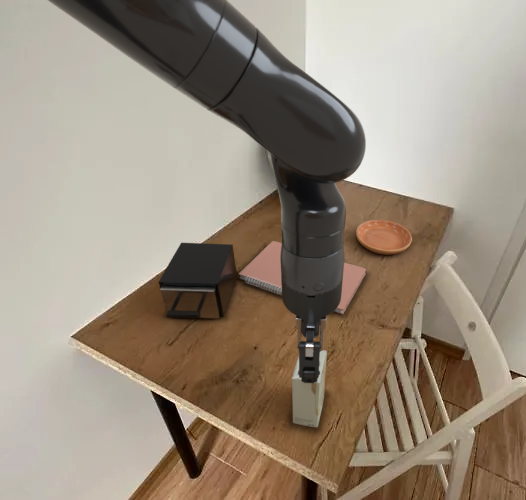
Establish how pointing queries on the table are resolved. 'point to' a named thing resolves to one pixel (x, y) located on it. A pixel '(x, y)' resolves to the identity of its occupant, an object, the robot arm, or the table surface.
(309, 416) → the cosmetic box
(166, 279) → the cabinet
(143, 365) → the table surface
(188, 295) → the drawer
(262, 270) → the notebook
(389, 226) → the saucer
